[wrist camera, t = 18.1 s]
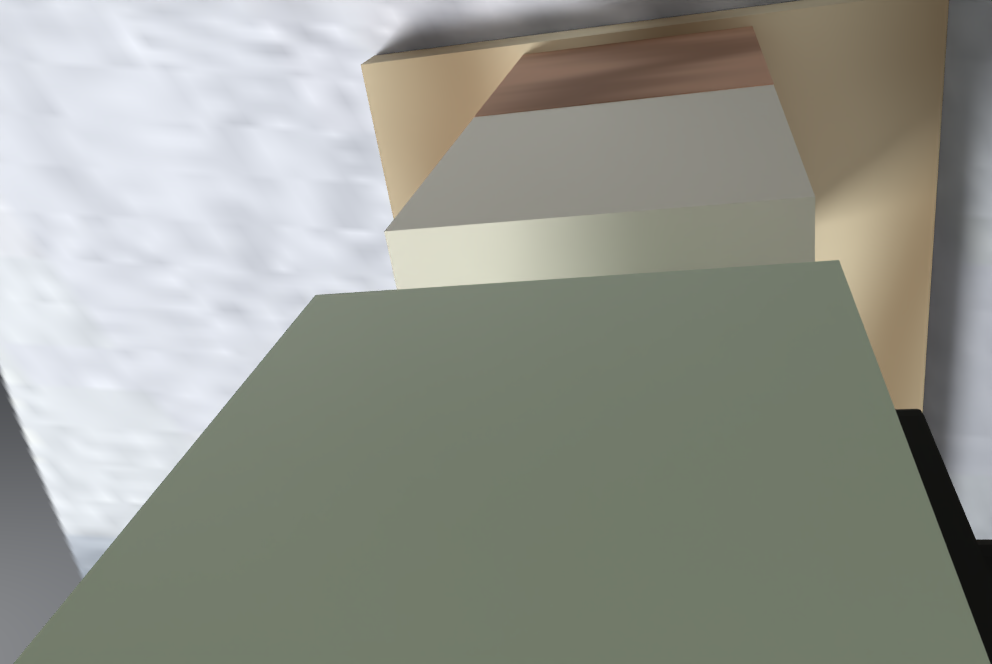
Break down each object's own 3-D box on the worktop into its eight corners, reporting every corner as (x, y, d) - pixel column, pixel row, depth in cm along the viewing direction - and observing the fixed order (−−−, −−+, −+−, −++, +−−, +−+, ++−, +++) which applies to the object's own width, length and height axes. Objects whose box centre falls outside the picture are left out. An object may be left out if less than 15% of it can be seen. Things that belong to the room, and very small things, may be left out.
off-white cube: (773, 84, 16) (814, 196, 11) (777, 355, 19) (813, 552, 13) (474, 116, 17) (384, 231, 12) (514, 366, 20) (454, 551, 15)
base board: (936, -18, 21) (1040, 38, 15) (894, 705, 32) (945, 914, 26) (374, 55, 25) (268, 126, 18) (505, 689, 35) (466, 872, 29)
